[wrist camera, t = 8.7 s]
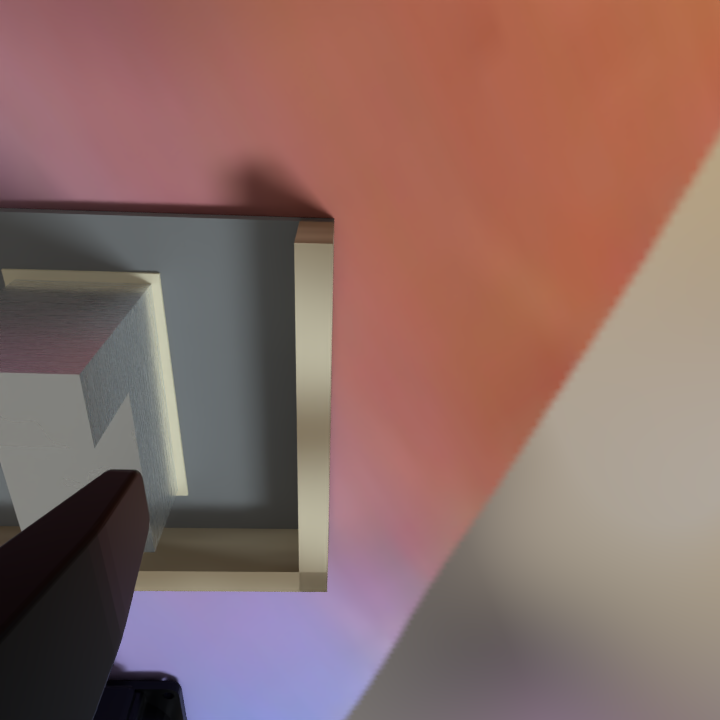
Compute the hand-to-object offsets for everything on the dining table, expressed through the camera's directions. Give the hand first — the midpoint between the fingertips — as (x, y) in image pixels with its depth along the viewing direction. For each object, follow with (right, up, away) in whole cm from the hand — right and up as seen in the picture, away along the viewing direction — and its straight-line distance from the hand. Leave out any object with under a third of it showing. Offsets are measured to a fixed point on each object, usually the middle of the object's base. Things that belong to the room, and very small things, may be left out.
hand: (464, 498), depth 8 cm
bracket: (-10, +1, +11) cm, 15 cm away
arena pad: (-9, +1, +12) cm, 15 cm away
